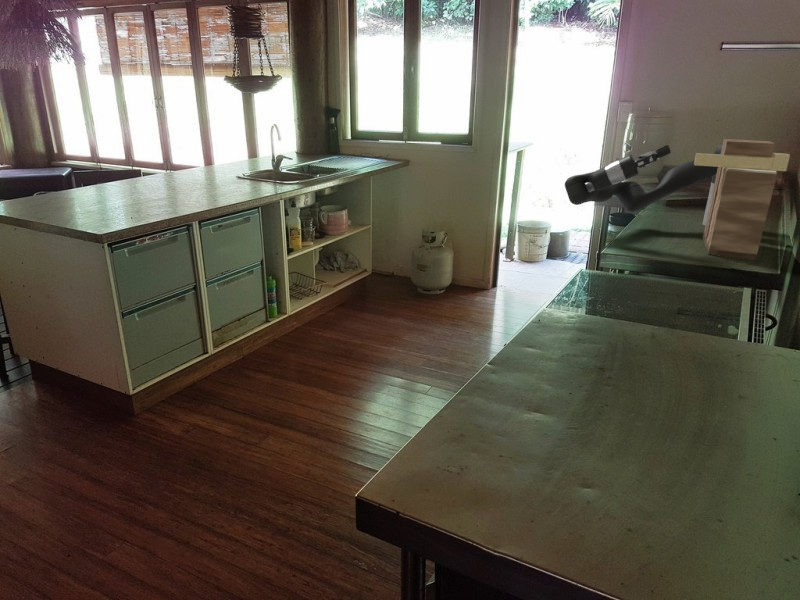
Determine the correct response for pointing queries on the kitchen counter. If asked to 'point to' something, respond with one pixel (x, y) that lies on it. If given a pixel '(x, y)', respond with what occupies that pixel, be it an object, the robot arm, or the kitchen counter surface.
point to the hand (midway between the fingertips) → (669, 148)
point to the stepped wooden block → (739, 203)
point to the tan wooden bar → (744, 161)
